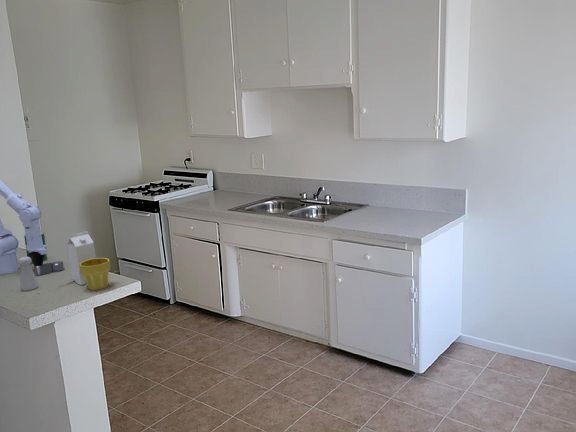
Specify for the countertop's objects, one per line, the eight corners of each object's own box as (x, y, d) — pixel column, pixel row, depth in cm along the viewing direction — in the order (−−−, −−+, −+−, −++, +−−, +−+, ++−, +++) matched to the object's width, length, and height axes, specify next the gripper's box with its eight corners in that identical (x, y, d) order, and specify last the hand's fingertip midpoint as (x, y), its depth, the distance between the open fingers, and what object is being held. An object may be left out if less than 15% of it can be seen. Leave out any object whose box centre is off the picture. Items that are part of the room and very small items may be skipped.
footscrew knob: (60, 267, 221) (59, 259, 220) (66, 269, 218) (65, 260, 217) (33, 274, 213) (32, 265, 212) (39, 276, 210) (37, 267, 209)
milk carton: (72, 282, 205) (65, 233, 201) (90, 277, 210) (83, 229, 206) (81, 285, 200) (74, 236, 196) (99, 280, 205) (92, 232, 201)
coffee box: (48, 260, 238) (44, 232, 236) (48, 262, 236) (43, 233, 233) (28, 263, 236) (24, 234, 233) (28, 265, 233) (23, 236, 230)
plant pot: (92, 294, 189) (88, 267, 187) (77, 288, 196) (73, 263, 194) (118, 285, 197) (114, 259, 195) (103, 281, 204) (99, 256, 202)
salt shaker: (41, 288, 199) (36, 255, 197) (34, 294, 194) (29, 259, 191) (25, 289, 199) (19, 256, 196) (18, 295, 193) (12, 260, 191)
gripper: (51, 236, 213) (57, 269, 215) (36, 232, 222) (41, 264, 225) (33, 240, 208) (39, 274, 210) (18, 236, 217) (24, 268, 220)
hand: (39, 269), depth 217 cm, fingers closed
